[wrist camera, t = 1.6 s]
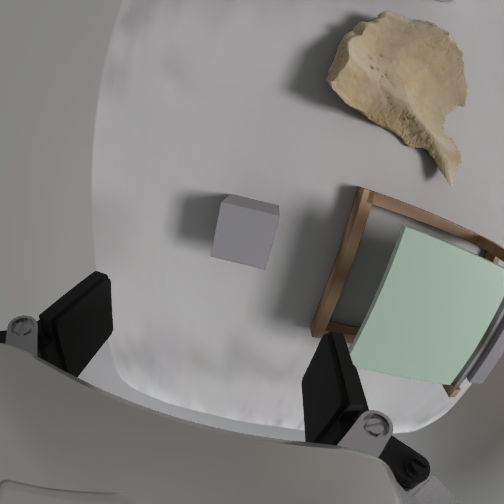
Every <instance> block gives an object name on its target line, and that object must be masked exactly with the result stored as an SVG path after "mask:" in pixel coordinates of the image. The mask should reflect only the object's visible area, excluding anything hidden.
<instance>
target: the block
mask: <svg viewBox="0 0 504 504" xmlns="http://www.w3.org/2000/svg"><path fill="white" fill-rule="evenodd" d="M279 216H280V215H279V205H275V204H271V203H267V202H263V201H258V200H254V199H250V198H246V197H241V196H237V195H232V194H230V195H229V196H228V197H226V198H225V199H224V200H223V201H222V202H221V205H220V210H219V215H218V220H217V225H216V231H215V236H214V241H213V247H212V252H211V257H215V258H219V259H223V260H227V261H231V262H235V263H240V264H244V265H248V266H252V267H256V268H260V269H264V270H265V269H266V265H267V262H268V258H269V254H270V251H271V247H272V243H273V239H274V235H275V232H276V228H277V224H278V220H279Z"/></svg>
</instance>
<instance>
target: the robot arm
mask: <svg viewBox="0 0 504 504" xmlns="http://www.w3.org/2000/svg"><path fill="white" fill-rule="evenodd" d="M439 1H444V2H451V1H454V0H439ZM39 318H40V320H38V321H36V320H35V319H34V318H32V317H30V316H19V317H16V318H14V319H13V320H12V321H11V322H10V323H9V325H8V328H7V331H0V504H459V503H458V502H457V500H456V499H455V498H454V497H453V496H452V494H451V493H450V492H449V491H448V490H447V489H446V488H445V487H444V486H443V485H442V484H441V482H440V481H439V480H438V479H437V478H436V477H435V476H433V477H431V476H430V475H429V474H430V465H429V462H428V461H427V460H426V458H424V457H423V456H422V455H420V454H419V453H417V452H416V451H414V450H413V449H411V448H410V447H408V446H406V445H405V444H404V443H402V442H401V441H399V440H397V439H396V438H395V437H393V436H392V432H393V425H392V422H391V420H390V419H389V418H388V417H387V416H386V415H385V414H383V413H381V412H379V411H375V410H369V409H368V405H367V402H366V398H365V395H364V392H363V388H362V385H361V382H360V378H359V375H358V372H357V369H356V367H355V365H353V362H352V359H351V356H350V353H349V350H348V347H347V344H346V340H345V337H344V335H343V333H339V332H334V331H329V332H328V334H324V335H323V336H322V339H321V341H320V343H319V345H318V347H317V350H316V352H315V354H314V356H313V358H312V360H311V362H310V364H309V366H308V368H307V371H306V373H305V375H304V377H303V379H302V394H303V408H304V423H305V439H306V442H300V441H290V440H282V439H275V438H268V437H261V436H255V435H249V434H244V433H238V432H233V431H228V430H224V429H219V428H215V427H210V426H207V425H203V424H199V423H195V422H191V421H187V420H184V419H180V418H177V417H174V416H171V415H168V414H164V413H161V412H158V411H155V410H152V409H150V408H147V407H144V406H141V405H139V404H136V403H133V402H131V401H128V400H126V399H123V398H121V397H118V396H116V395H113V394H111V393H109V392H106V391H104V390H102V389H100V388H98V387H95V386H93V385H91V384H89V383H87V382H85V381H83V380H81V379H79V378H77V377H78V376H79V375H80V373H81V372H82V371H83V369H84V368H85V367H86V365H87V364H88V363H89V362H90V360H91V359H92V358H93V356H94V355H95V354H96V353H97V351H98V350H99V349H100V348H101V346H102V345H103V344H104V343H105V341H106V340H107V339H108V338H109V336H110V335H111V334H112V331H113V319H112V303H111V281H110V279H108V276H107V275H106V274H103V273H100V272H97V271H95V272H93V273H92V274H91V275H89V276H88V277H87V278H85V279H84V280H83V281H81V282H80V283H79V284H77V285H76V286H75V287H74V288H72V289H71V290H70V291H68V292H67V293H66V294H65V295H63V296H62V297H61V298H60V299H59V300H57V301H56V302H55V303H54V304H52V305H51V306H50V307H49V308H48V309H46V310H45V311H44V312H43V313H42V314H40V315H39Z"/></svg>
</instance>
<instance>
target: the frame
mask: <svg viewBox="0 0 504 504" xmlns="http://www.w3.org/2000/svg"><path fill="white" fill-rule="evenodd" d="M372 204H373V205H376V206H379V207H382V208H385V209H388V210H391V211H394V212H396V213H399V214H402V215H405V216H407V217H410V218H413V219H416V220H418V221H421V222H423V223H426V224H429V225H431V226H434V227H436V228H439V229H441V230H444V231H446V232H449V233H451V234H453V235H456V236H458V237H460V238H463V239H465V240H467V241H470V242H472V243H474V244H476V245H478V246H479V247H481V248H483V249H484V250H486V251H487V253H486V255H485V259H487V260H489V261H491V262H493V263H495V264H498V261H499V259H501V260H502V261H504V249H503V247H501V246H500V245H498V244H496V243H494V242H492V241H490V240H488V239H486V238H484V237H482V236H480V235H478V234H476V233H474V232H472V231H470V230H468V229H466V228H464V227H462V226H459V225H457V224H455V223H453V222H450V221H448V220H446V219H444V218H441V217H439V216H437V215H434V214H432V213H429V212H427V211H425V210H422V209H420V208H417V207H415V206H412V205H409V204H407V203H404V202H402V201H399V200H396V199H394V198H391V197H388V196H385V195H382V194H380V193H377V192H374V191H371V190H368V189H365V188H362V187H359V186H358V189H357V193H356V197H355V200H354V203H353V207H352V210H351V214H350V217H349V220H348V223H347V227H346V230H345V233H344V236H343V239H342V242H341V245H340V248H339V251H338V254H337V257H336V260H335V263H334V266H333V269H332V271H331V274H330V277H329V280H328V282H327V285H326V288H325V291H324V293H323V296H322V298H321V301H320V304H319V306H318V309H317V311H316V314H315V316H314V319H313V321H312V324H311V326H310V328H311V334H312V337H316V338H322V336H323V335H324V334H328V332H329V331H334V332H339V333H343V335H344V337H345V340H346V343H353V341H354V339H355V337H356V335H357V333H358V331H359V329H360V327H354V326H348V325H343V324H337V323H332V322H329V320H330V318H331V316H332V313H333V311H334V309H335V306H336V304H337V301H338V299H339V297H340V294H341V292H342V289H343V286H344V284H345V281H346V279H347V276H348V273H349V271H350V268H351V265H352V263H353V260H354V257H355V254H356V251H357V249H358V246H359V243H360V240H361V237H362V234H363V231H364V228H365V225H366V221H367V218H368V215H369V212H370V209H371V205H372ZM503 317H504V297H503V299H502V301H501V303H500V306H499V308H498V310H497V312H496V313H495V315H494V317H493V319H492V321H491V323H490V325H489V327H488V328H487V330H486V332H485V334H484V335H483V337H482V339H481V340H480V342H479V344H478V345H477V347H476V348H475V350H474V352H473V353H472V355H471V356H470V358H469V359H468V361H467V362H466V364H465V365H464V367H463V368H462V369H461V371H460V372H459V374H458V375H457V376H456V378H455V379H454V380H453V382H452V383H451V384H450V385H445V384H442V385H443V387H444V389H445V391H446V393H447V394H448V396H449V397H455V396H456V395H457V394H458V393H459V391H460V390H461V389H460V388H459V386H460V385H461V383H462V382H463V381H464V379H465V378H466V377H467V375H468V374H469V373H470V371H471V370H472V368H473V367H474V365H475V364H476V362H477V361H478V360H479V358H480V357H481V355H482V353H483V352H484V350H485V349H486V347H487V346H488V344H489V342H490V341H491V339H492V337H493V336H494V334H495V332H496V330H497V328H498V327H499V325H500V323H501V321H502V319H503Z"/></svg>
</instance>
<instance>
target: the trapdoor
mask: <svg viewBox="0 0 504 504" xmlns="http://www.w3.org/2000/svg"><path fill="white" fill-rule="evenodd" d="M503 297H504V268H503V267H501V266H499V265H497V264H495V263H493V262H491V261H489V260H487V259H485V258H483V257H480V256H478V255H476V254H474V253H472V252H469V251H467V250H465V249H463V248H460V247H458V246H456V245H453V244H451V243H449V242H446V241H444V240H441V239H439V238H437V237H434V236H432V235H429V234H427V233H424V232H421V231H419V230H416V229H414V228H411V227H408V226H406V225H403V224H402V227H401V230H400V233H399V236H398V239H397V242H396V244H395V247H394V250H393V253H392V255H391V258H390V261H389V263H388V266H387V268H386V271H385V273H384V276H383V278H382V281H381V283H380V285H379V288H378V290H377V292H376V295H375V297H374V299H373V301H372V304H371V306H370V308H369V310H368V312H367V314H366V317H365V319H364V321H363V323H362V325H361V327H360V329H359V331H358V333H357V335H356V337H355V339H354V341H353V343H352V345H351V347H350V348H349V353H350V356H351V359H352V362H353V365H355V367H357V368H361V369H365V370H370V371H374V372H379V373H384V374H388V375H393V376H398V377H404V378H409V379H414V380H420V381H426V382H432V383H439V384H445V385H450V384H451V383H452V382H453V380H454V379H455V378H456V376H457V375H458V374H459V372H460V371H461V369H462V368H463V367H464V365H465V364H466V362H467V361H468V359H469V358H470V356H471V355H472V353H473V352H474V350H475V348H476V347H477V345H478V344H479V342H480V340H481V339H482V337H483V335H484V334H485V332H486V330H487V328H488V327H489V325H490V323H491V321H492V319H493V317H494V315H495V313H496V312H497V310H498V308H499V306H500V303H501V301H502V299H503ZM503 352H504V317H503V319H502V321H501V323H500V325H499V327H498V328H497V330H496V332H495V334H494V336H493V337H492V339H491V341H490V342H489V344H488V346H487V347H486V349H485V350H484V352H483V353H482V355H481V357H480V358H479V360H478V361H477V362H476V364H475V365H474V367H473V368H472V370H471V371H470V373H469V374H468V375H467V379H468V381H469V382H471V383H480V384H482V382H483V381H484V380H485V378H486V377H487V376H488V374H489V373H490V371H491V370H492V369H493V367H494V366H495V364H496V363H497V361H498V360H499V358H500V357H501V355H502V354H503Z"/></svg>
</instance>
